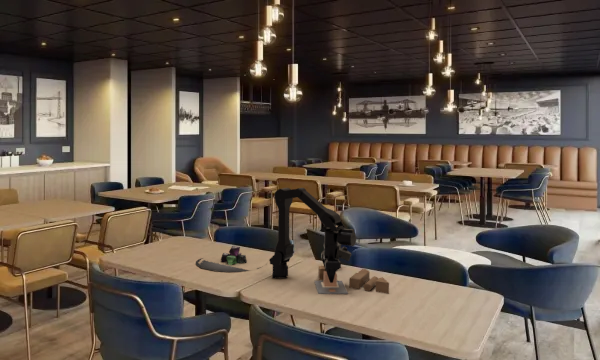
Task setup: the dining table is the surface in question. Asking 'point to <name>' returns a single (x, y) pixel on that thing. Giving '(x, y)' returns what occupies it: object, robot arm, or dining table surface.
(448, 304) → the dining table surface
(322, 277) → the walnut block
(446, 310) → the dining table surface
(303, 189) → the robot arm
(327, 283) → the terracotta block
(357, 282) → the wooden block set
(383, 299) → the dining table surface
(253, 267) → the dining table surface
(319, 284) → the grey flat plate
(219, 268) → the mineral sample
